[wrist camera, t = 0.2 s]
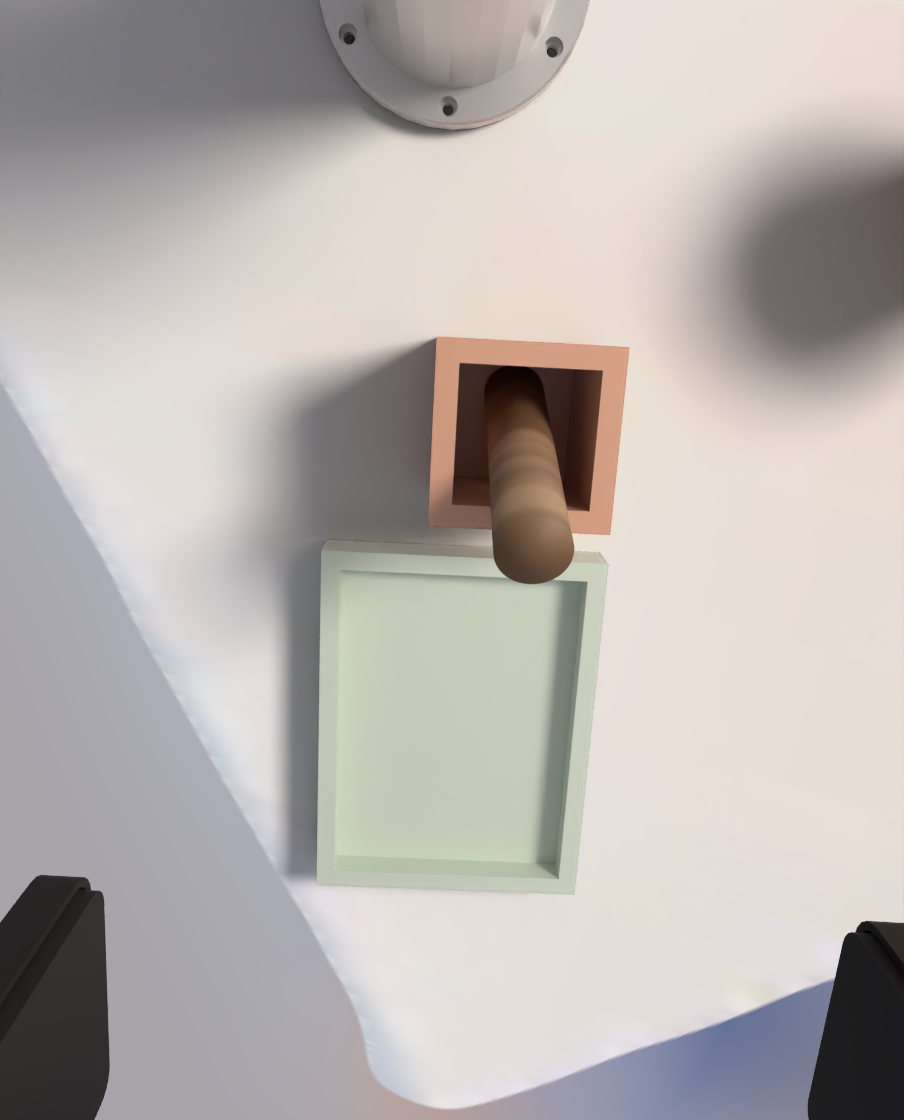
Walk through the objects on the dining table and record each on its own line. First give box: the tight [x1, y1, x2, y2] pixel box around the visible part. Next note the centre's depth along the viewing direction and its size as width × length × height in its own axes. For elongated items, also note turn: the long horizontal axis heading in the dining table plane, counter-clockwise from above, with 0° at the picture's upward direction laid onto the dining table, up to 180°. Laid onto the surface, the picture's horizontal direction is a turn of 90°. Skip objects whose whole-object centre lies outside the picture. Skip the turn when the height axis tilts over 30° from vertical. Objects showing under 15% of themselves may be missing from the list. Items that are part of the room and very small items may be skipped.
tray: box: [317, 539, 609, 895], centre depth 47 cm, size 20×15×2 cm
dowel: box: [484, 365, 574, 584], centre depth 37 cm, size 8×3×14 cm, turn 177°
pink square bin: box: [428, 337, 629, 535], centre depth 40 cm, size 8×8×9 cm
